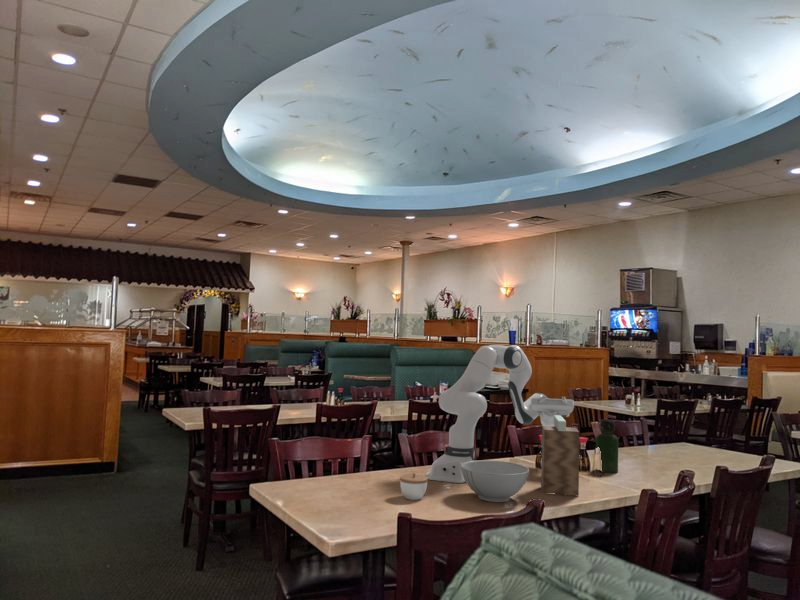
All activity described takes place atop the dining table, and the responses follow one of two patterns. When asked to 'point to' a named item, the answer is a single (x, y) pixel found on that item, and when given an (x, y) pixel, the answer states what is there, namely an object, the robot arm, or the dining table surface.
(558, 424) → the sage block
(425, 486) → the lidded jar
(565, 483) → the wood grain block
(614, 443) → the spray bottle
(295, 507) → the dining table surface
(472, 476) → the decorative bowl
